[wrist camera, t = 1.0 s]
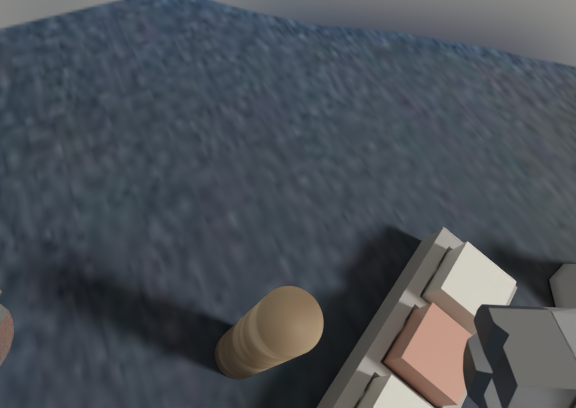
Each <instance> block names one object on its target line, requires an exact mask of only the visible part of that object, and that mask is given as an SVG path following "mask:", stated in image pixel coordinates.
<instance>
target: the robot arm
mask: <svg viewBox="0 0 576 408" xmlns="http://www.w3.org/2000/svg"><path fill="white" fill-rule="evenodd" d="M1 293H2V292H1V289H0V295H1ZM473 321H474V324H475V327H476V331H477V333H475V334H474V335H473V336H471V337H470V338H468V339H467V342H466V346H465V349H464V353H463V376H464V383H465V387H466V391H467V395H468V396H469V397H470V398H471V399H472V400H473V401H474V402H475V403H476V404H477V405H478V406H479V408H576V309H575V308H554V307H544V308H542V307H530V306H510V305H490V304H482V305H481V306H480V307H479V308H478V309H477V312H476V315H475V317H474V320H473ZM13 335H14V330H13V320H12V318H11V315H10V312H9V311H8V310H7V309H6V308H5V307H3V306H2V305H1V304H0V365H1V364H2V362H3V360H4V359H5V357H6V355H7V354H8V352H9V350H10V346H11V343H12V339H13Z"/></svg>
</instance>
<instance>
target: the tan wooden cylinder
mask: <svg viewBox="0 0 576 408" xmlns="http://www.w3.org/2000/svg"><path fill="white" fill-rule="evenodd" d="M323 322H324V321H323V315H322V311H321V308H320V306H319V304H318V303H317V301H316V300H315V299H314V298H313V296H311V295H310V294H309V293H308V292H306V291H305V290H303V289H300V288H298V287H293V286H284V287H279V288H277V289H274V290H273V291H271V292H270V293H269V294H267V295H266V296H265V297H264V298H263V299H262V300H261V301H260V302H259V303H258V304H256V305H255V306H254V307H253V308H252V309H251V310H250V311H249V312H248V313H247V314H246V315H244V316H243V317H242V318H241V319H240V320H239V321H238V322H237V323H236V324H235V325H234V326H232V327H231V328H230V329H229V330H228V331H227V332H226V333H225V334H224V335H223V336H222V337H221V338H220V339H219V341H218V343H217V345H216V348H215V361H216V364H217V366H218V368H219V369H220V371H221V372H222V373H223V374H225V375H226V376H228V377H230V378H232V379H245V378H248V377H250V376H252V375H255V374H257V373H259V372H262V371H264V370H267V369H269V368H271V367H274V366H276V365H278V364H281V363H283V362H286V361H288V360H290V359H293V358H295V357H297V356H300V355H302V354H305V353H306V352H308V351H310V350H311V349H312V348H313V347H314V346H315V345H316V344H317V343H318V341H319V339H320V337H321V335H322V332H323Z"/></svg>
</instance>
